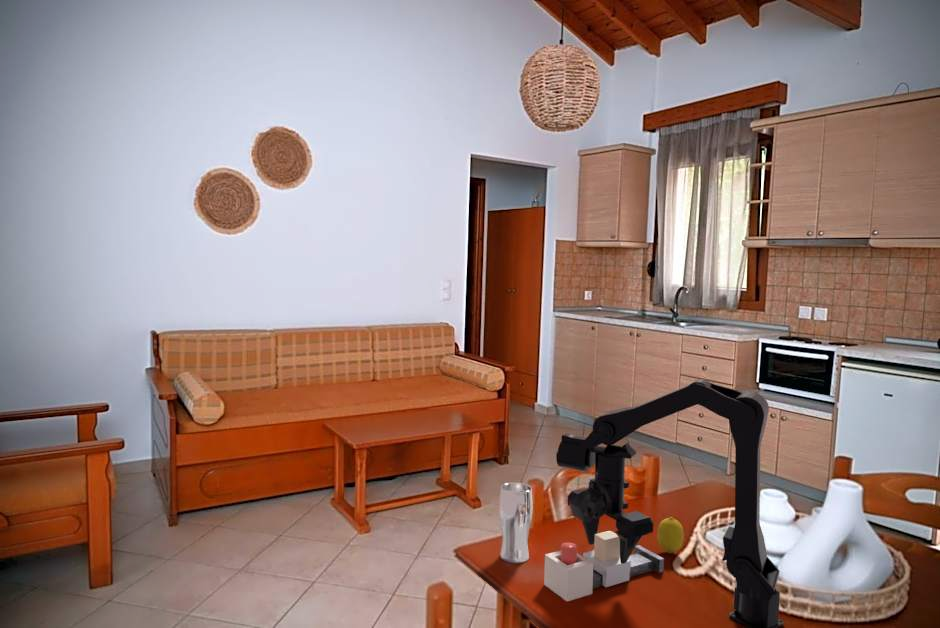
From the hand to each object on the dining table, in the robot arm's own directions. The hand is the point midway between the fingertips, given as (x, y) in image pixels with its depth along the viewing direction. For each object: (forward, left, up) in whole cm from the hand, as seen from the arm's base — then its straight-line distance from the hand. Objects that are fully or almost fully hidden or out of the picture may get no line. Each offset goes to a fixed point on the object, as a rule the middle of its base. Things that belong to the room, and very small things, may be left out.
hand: (606, 553), depth 122 cm
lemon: (+2, -20, -5) cm, 21 cm away
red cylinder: (0, +10, -1) cm, 10 cm away
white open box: (0, +10, -5) cm, 11 cm away
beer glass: (+16, +11, -5) cm, 20 cm away
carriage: (0, 0, -5) cm, 5 cm away
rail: (0, -3, -5) cm, 6 cm away
